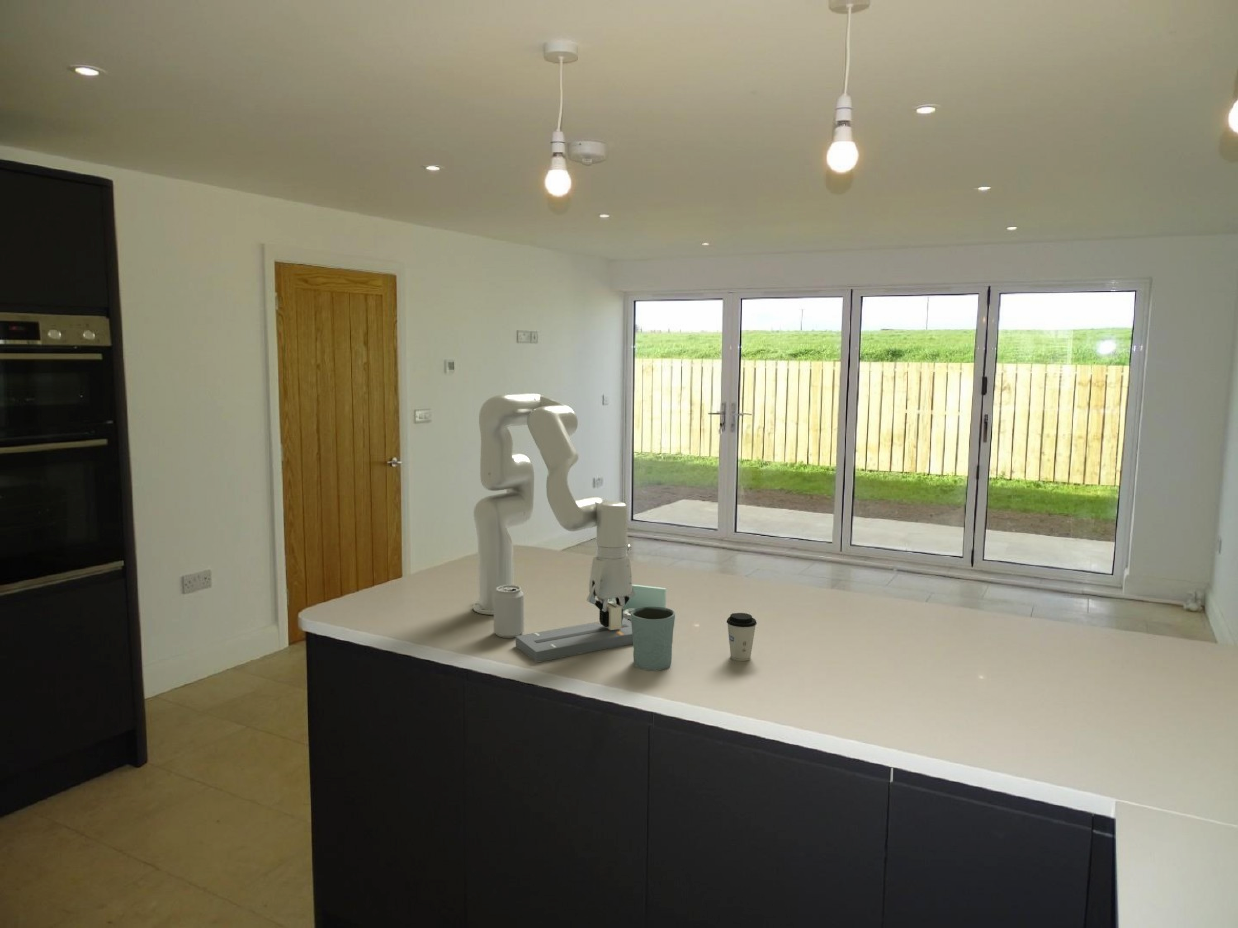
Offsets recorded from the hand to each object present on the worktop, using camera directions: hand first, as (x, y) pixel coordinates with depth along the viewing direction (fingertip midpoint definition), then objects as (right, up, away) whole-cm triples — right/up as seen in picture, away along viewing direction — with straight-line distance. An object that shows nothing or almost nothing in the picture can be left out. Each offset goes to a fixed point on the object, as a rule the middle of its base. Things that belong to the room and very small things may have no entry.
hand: (611, 623), depth 204 cm
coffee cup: (+30, -6, -12) cm, 33 cm away
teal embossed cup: (+10, -6, -16) cm, 19 cm away
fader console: (-7, -4, -3) cm, 9 cm away
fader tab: (0, -1, 0) cm, 1 cm away
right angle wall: (+7, -2, +18) cm, 19 cm away
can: (-26, -3, +3) cm, 26 cm away
